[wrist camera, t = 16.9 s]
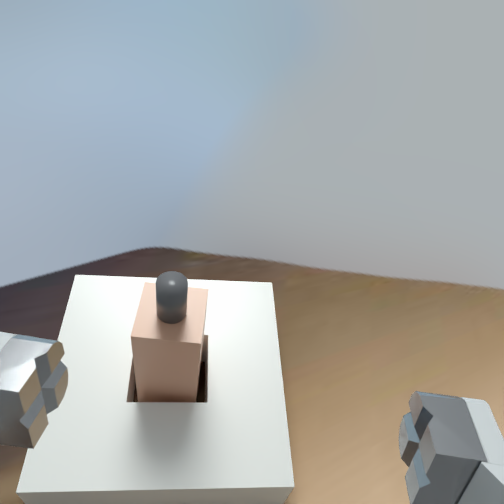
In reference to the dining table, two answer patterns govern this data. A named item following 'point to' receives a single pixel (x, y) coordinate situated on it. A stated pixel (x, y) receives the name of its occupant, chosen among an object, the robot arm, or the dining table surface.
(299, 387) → the dining table surface
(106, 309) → the socket
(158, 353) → the plug
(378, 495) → the dining table surface
